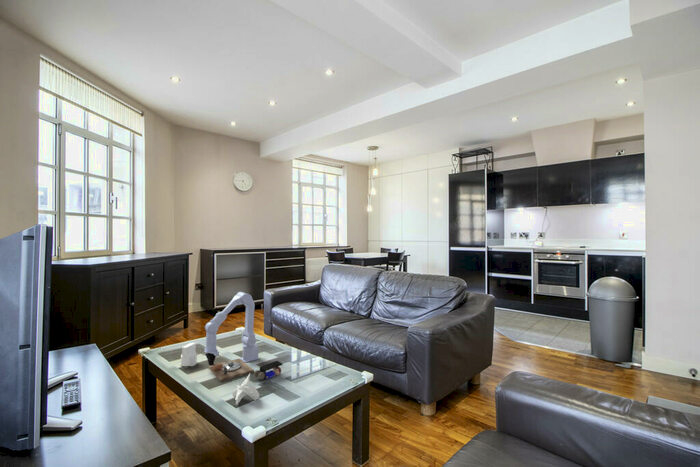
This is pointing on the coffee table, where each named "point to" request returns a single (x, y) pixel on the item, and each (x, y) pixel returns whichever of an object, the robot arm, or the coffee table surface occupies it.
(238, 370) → the base board
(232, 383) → the coffee table surface
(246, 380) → the figurine
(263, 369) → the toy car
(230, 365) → the flange plate
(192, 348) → the cylinder with rectangular tab
